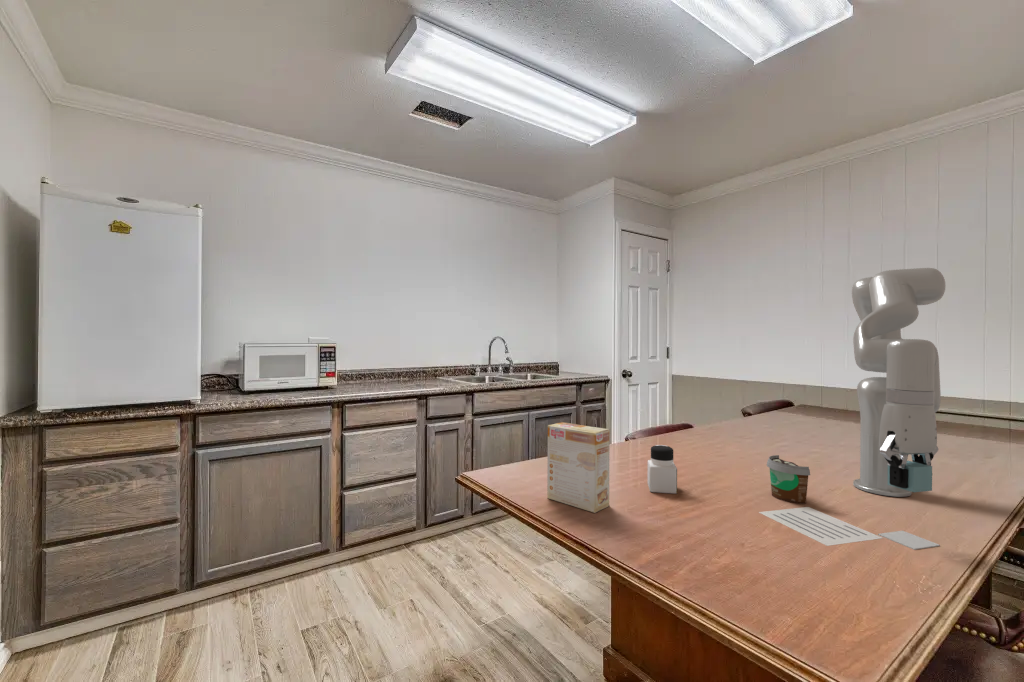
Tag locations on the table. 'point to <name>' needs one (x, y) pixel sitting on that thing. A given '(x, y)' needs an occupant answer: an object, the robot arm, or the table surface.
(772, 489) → the food container
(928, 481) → the teal block
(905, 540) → the mat
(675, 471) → the medicine bottle
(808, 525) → the letter
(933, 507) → the table surface
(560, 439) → the coffeecake box
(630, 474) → the table surface
